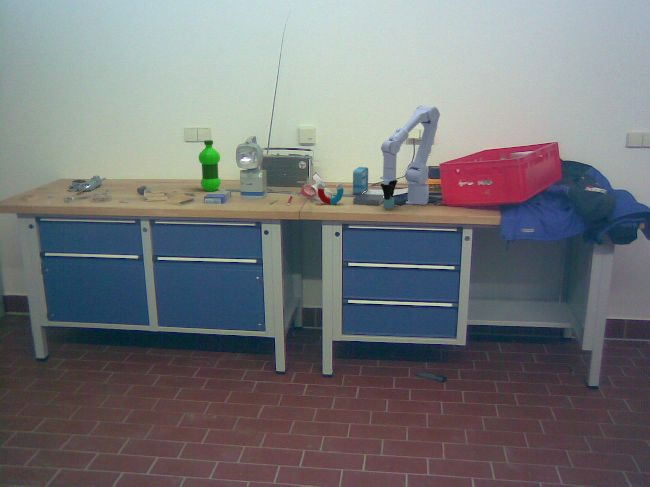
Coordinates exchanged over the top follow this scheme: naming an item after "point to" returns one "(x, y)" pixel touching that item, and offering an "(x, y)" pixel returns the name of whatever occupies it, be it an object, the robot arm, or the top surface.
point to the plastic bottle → (209, 167)
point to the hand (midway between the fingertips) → (388, 197)
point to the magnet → (333, 199)
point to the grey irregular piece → (86, 184)
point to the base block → (368, 199)
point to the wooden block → (389, 203)
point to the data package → (360, 180)
